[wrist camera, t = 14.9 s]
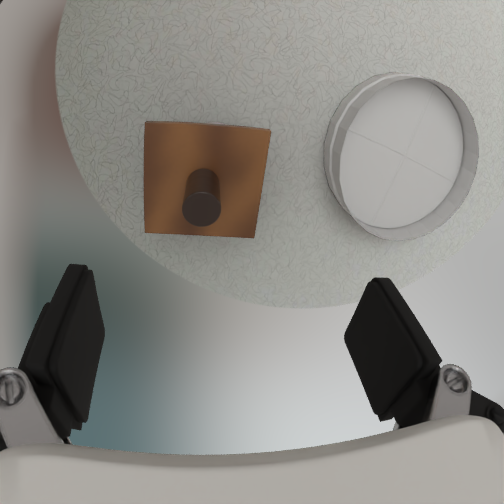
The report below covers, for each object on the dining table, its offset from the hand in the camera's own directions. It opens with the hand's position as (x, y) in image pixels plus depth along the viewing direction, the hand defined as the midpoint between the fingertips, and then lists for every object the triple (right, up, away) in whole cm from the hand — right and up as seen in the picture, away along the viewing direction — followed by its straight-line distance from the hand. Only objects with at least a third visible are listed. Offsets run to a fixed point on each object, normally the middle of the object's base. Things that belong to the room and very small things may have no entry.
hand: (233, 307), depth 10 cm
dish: (+20, +15, +28) cm, 38 cm away
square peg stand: (-4, +8, +19) cm, 21 cm away
